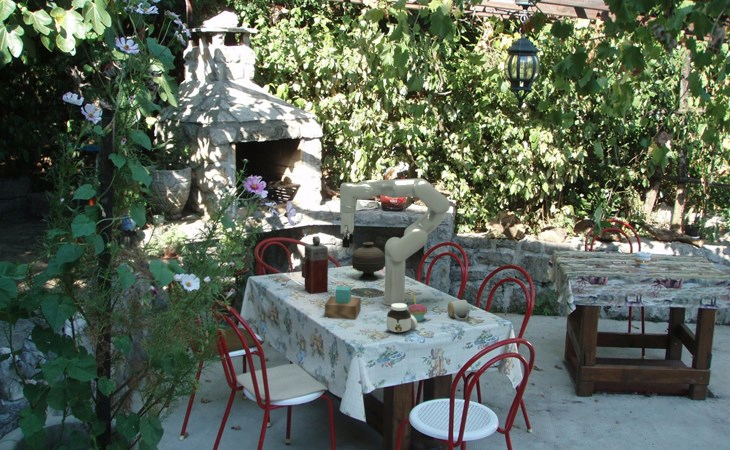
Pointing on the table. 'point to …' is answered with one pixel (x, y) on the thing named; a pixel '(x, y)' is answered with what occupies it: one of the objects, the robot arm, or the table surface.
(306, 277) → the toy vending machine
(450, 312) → the ceramic mug
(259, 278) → the table surface
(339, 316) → the walnut base
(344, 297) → the teal block
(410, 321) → the spread jar
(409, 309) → the cupcake
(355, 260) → the pot
